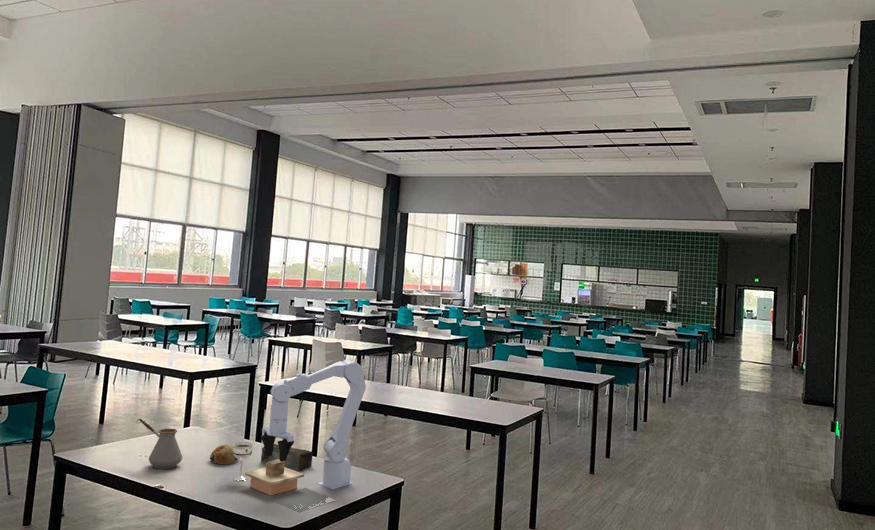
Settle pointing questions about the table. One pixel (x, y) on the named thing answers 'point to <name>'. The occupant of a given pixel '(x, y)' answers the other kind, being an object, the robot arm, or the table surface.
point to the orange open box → (273, 486)
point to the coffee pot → (164, 448)
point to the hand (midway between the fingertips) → (275, 458)
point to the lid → (274, 473)
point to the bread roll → (223, 455)
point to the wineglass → (242, 455)
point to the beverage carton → (290, 458)
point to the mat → (300, 499)
